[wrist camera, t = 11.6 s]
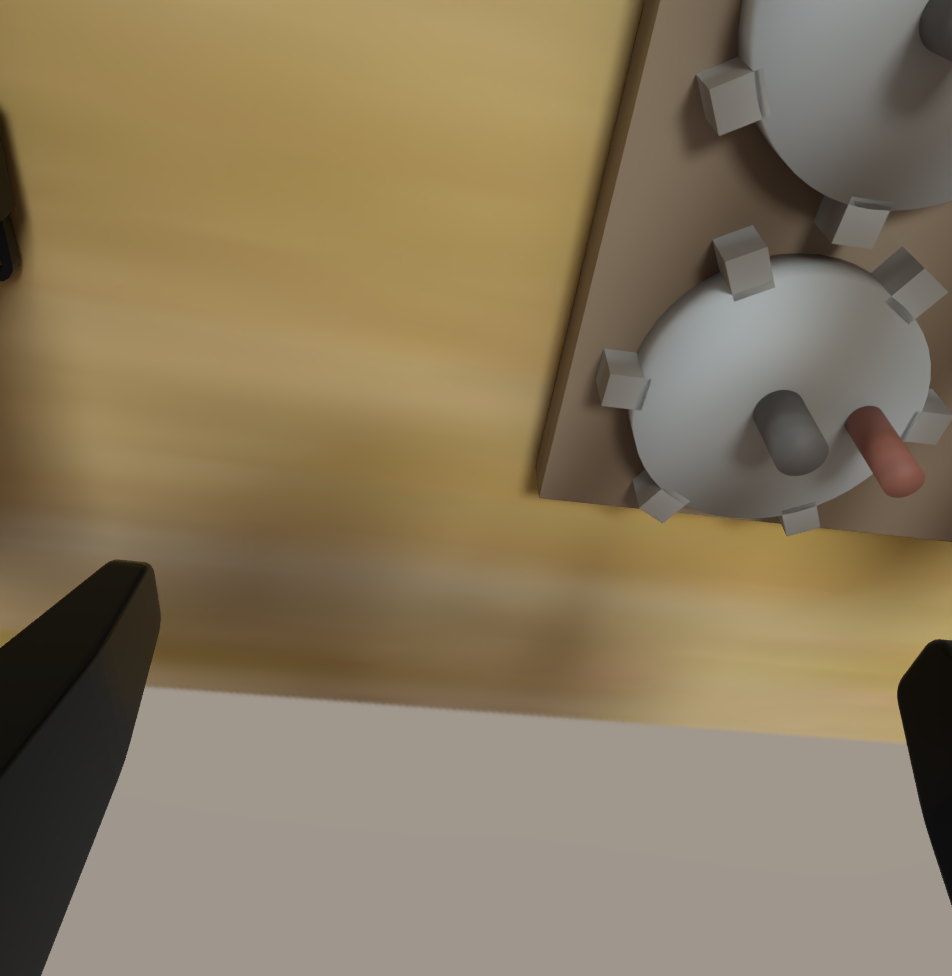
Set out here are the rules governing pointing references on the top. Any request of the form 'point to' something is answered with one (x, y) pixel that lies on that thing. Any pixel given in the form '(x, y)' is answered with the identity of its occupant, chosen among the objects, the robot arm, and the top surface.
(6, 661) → the robot arm
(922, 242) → the gear board
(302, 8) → the top surface
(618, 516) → the top surface
